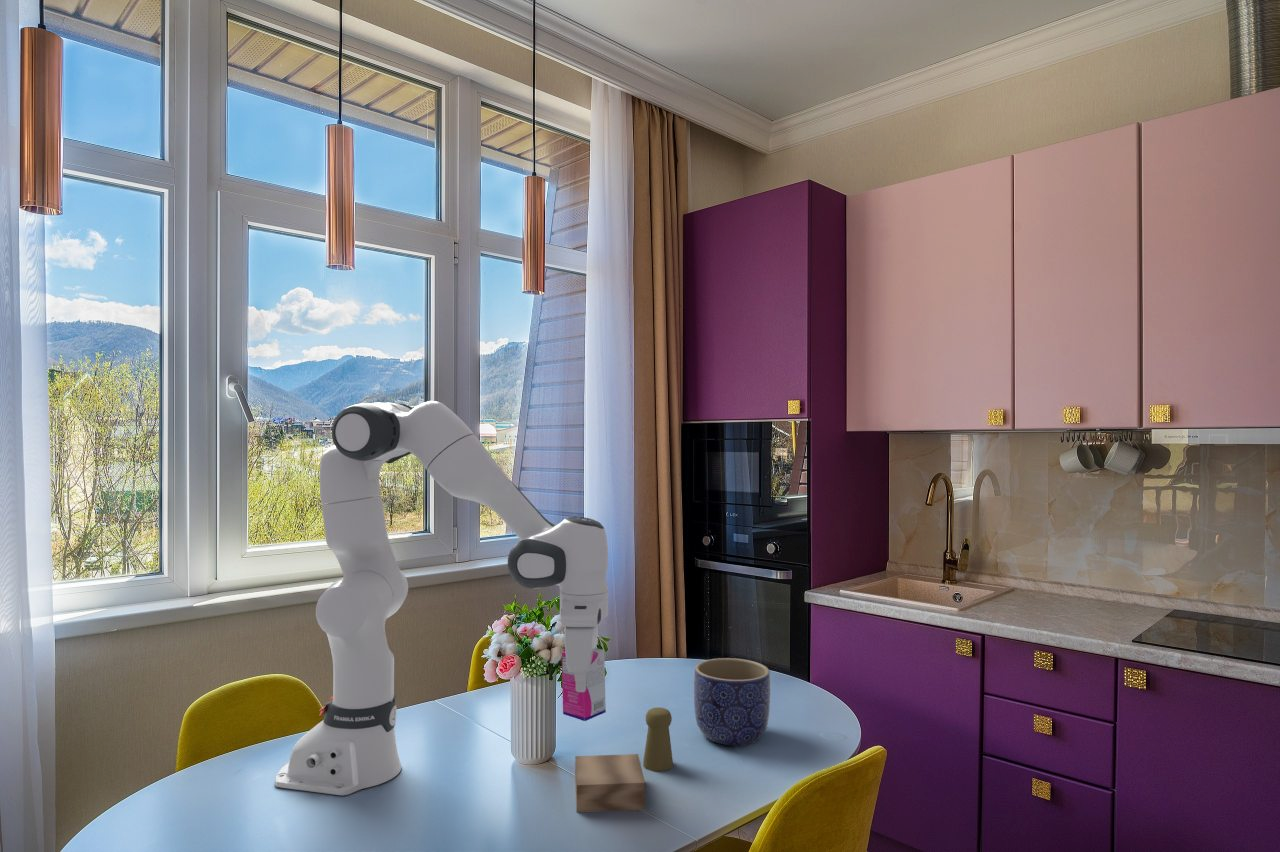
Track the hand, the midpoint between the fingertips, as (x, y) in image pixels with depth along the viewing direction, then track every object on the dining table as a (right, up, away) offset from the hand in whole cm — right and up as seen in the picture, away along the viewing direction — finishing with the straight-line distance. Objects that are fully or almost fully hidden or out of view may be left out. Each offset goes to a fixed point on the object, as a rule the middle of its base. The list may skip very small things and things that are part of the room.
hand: (583, 682), depth 138 cm
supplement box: (0, -6, 0) cm, 6 cm away
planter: (+30, -22, +28) cm, 46 cm away
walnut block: (+5, -21, +1) cm, 22 cm away
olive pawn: (+14, -21, +13) cm, 29 cm away
